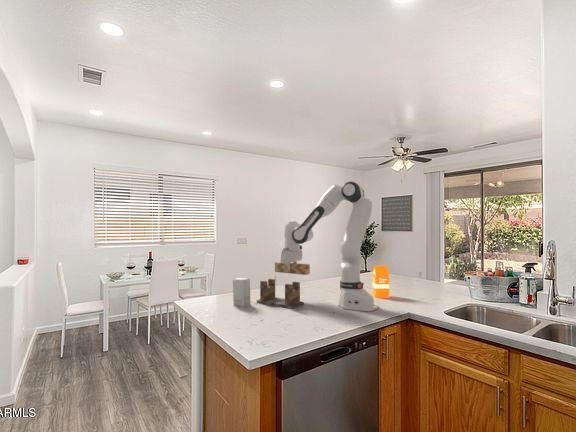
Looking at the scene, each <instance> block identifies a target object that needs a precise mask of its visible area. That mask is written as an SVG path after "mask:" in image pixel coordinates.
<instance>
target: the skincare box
mask: <svg viewBox="0 0 576 432" xmlns="http://www.w3.org/2000/svg"><path fill="white" fill-rule="evenodd" d="M250 280H251V279H250V278H248V277H237V278H232V293H233V294H232V296H233V297H232V298H233V301H232V302H233V306H237V307H242V308H245V307H248V306H250V305H251V304H252V303H251V281H250Z"/></svg>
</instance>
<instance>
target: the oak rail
mask: <svg viewBox="0 0 576 432" xmlns="http://www.w3.org/2000/svg"><path fill="white" fill-rule="evenodd" d="M310 265H311V264H309V263H298V262H297V263H293V262H290V267H291V270H288V267H287V264H286V263H281V261H277V262H274V273H283V274H284V273H285V274H292V275H293V274H294V275H302V276H308V275H310V274H311V270H310Z"/></svg>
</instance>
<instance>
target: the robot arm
mask: <svg viewBox="0 0 576 432" xmlns="http://www.w3.org/2000/svg"><path fill="white" fill-rule="evenodd" d="M343 201H348V202H349V203H352V208H351V212H350V216H349V219H348V222H347V226H346V227H345V230H344V233H343V237H342V240H341V244H340V246H339V247H340V248H339V250H340V280H339V281H340V282H339V290H340V291H339V293H340V294H339V299H338V300H339V301H338V303H337V306H339V307H341V308H342V310H343V309H344V310H352V311H361V312H374V311H375V310H377V309H378V308H379V305H378V304H377V303H375V299H374V296H373V294H371V293H370V292H368V291H367V290H366V289H365V288H364V286H365V282H362V281H361V260H360V259H361V256H360V255H361V253H360V251H361V249H362V248H361V247H362V244H363V241H364V238H365V235H366V232H367V228H368V225H369V222H370V219H371V215H372V211H373V210H372V209H373V202H372V200H370V199H369V198H367V197H365V191H364V189H363V187H361V185H360V184H358V183H357V182H355V181H347V182H345V183H344V184H343V185H342V186H341V185H339V184H332V185H331V186H330V187H329V188H328V189H327V190H326V191H325V192H324V194H323V195H322V196H321V197H320V199H319V200H318V202H317V204H316V205H315V207H313V209H312V211H311V212H310V213H309V215H308V216H307V217H306V218H305V219H304V221H303V222H302V223H301V224H300V223H299V222H298V221H289V222H286V223H285V226H284V232H283V233H284V248H282V251H281V253H280V262H281V263H286V264H287V267H288V270H291V267H290V263H298V262H299V261H302V260H303V245H302V244H305V243H307V242H309V241H310V242H311V240H312V239H313V238H314V232H313V227H315V225H316V224H317V223H318V222H319V221H320V220H321V219H323V218H325V217H327V216H330V215H331V214H332V213H333V212H334V211H335V210H336V209H337V207H338V206H339V205H340V204H341V203H342V202H343Z"/></svg>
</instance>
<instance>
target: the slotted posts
mask: <svg viewBox="0 0 576 432" xmlns="http://www.w3.org/2000/svg"><path fill="white" fill-rule="evenodd" d="M259 282H260V283H259V284H260V285H259V290H260V291H259V294H260V295H259V296H260V299H256V303H257V304H262V305H268V306H273V307H279V308H285V309H289V310H290V309H291V310H294V309H297V308H298V307H301V306H304V305H305V304H304V303H305V302H304V301H301V282H300V281H292V282H291V283H292V284H290V283H285V284H284V298H281V297H277V296H276V279H275V278H268V280H267V281H266V280H260V281H259Z"/></svg>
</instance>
